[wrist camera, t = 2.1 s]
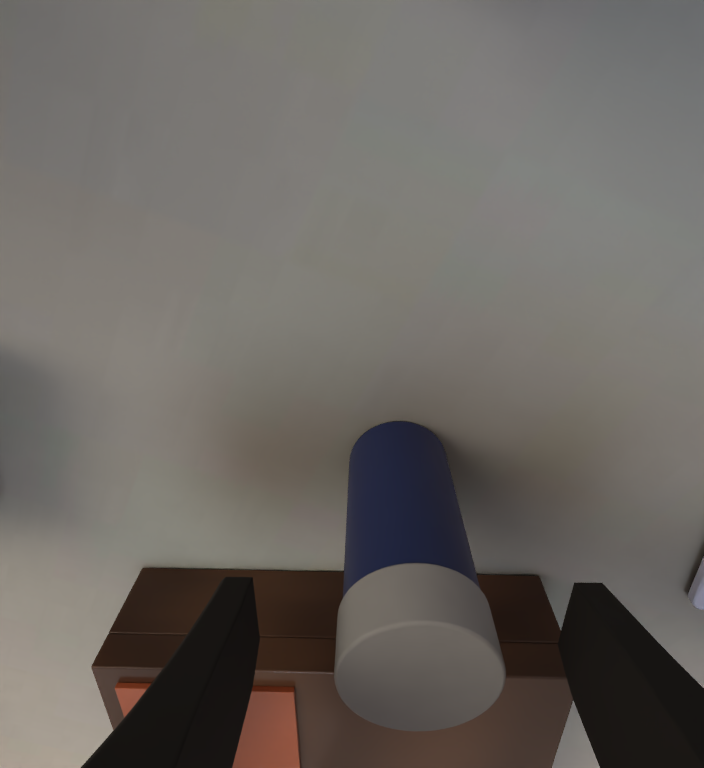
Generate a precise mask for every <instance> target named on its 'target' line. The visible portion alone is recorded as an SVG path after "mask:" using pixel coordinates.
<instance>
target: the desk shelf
mask: <svg viewBox="0 0 704 768" xmlns="http://www.w3.org/2000/svg"><path fill="white" fill-rule="evenodd" d="M225 577H253V584H254V592H255V601H256V609H257V617H258V626H259V634H260V642H259V649H258V656H257V662H256V669H255V675H254V682H253V688H252V692H251V696H250V700H249V704H248V708H247V712H246V716H245V720H244V724H243V728H242V732H241V735H240V739H239V743H238V747H237V751H236V755H235V759H234V763H233V767H232V768H552V765H553V761H554V758H555V755H556V752H557V749H558V746H559V742H560V739H561V736H562V733H563V730H564V727H565V723H566V720H567V717H568V714H569V711H570V708H571V705H572V701H573V697H572V695H571V691H570V688H569V684H568V681H567V677H566V674H565V671H564V667H563V663H562V659H561V655H560V652H559V648H558V641H559V637H560V633H561V630H560V627H559V625H558V622H557V620H556V617H555V615H554V612H553V610H552V607H551V605H550V602H549V600H548V597H547V595H546V592H545V590H544V587H543V585H542V582H541V580H540V577H539V576H523V575H477V578H478V582H479V586H480V590H481V591H482V592H483V594H484V595H485V597H486V599H487V601H488V603H489V607H490V610H491V614H492V618H493V621H494V625H495V629H496V633H497V637H498V640H499V644H500V648H501V652H502V655H503V659H504V663H505V668H506V678H505V684H504V687H503V690H502V692H501V694H500V696H499V697H498V699H497V700H496V701H495V703H494V704H493V705H492V706H491V707H490V708H489V709H487V710H486V711H485V712H483V713H482V714H481V715H479V716H477V717H476V718H474V719H472V720H470V721H467V722H465V723H463V724H460V725H457V726H454V727H450V728H446V729H440V730H433V731H403V730H397V729H391V728H387V727H383V726H380V725H377V724H374V723H372V722H370V721H368V720H366V719H364V718H362V717H360V716H359V715H357V714H356V713H355V712H353V711H352V710H351V709H350V708H349V707H348V706H347V705H346V704H345V703H344V702H343V700H342V699H341V697H340V695H339V694H338V691H337V688H336V685H335V681H334V666H335V649H336V632H337V616H338V609H339V606H340V603H341V601H342V599H343V584H344V572H319V571H268V570H218V569H167V568H142V570H141V572H140V574H139V576H138V578H137V580H136V581H135V583H134V585H133V587H132V589H131V591H130V593H129V595H128V597H127V599H126V601H125V603H124V605H123V606H122V608H121V610H120V612H119V614H118V616H117V618H116V620H115V622H114V624H113V626H112V628H111V630H110V631H109V634H108V636H107V638H106V639H105V641H104V643H103V645H102V647H101V649H100V651H99V653H98V655H97V657H96V659H95V661H94V663H93V664H92V671H93V673H94V676H95V679H96V682H97V685H98V688H99V690H100V693H101V696H102V699H103V702H104V705H105V707H106V710H107V713H108V716H109V719H110V722H111V724H112V727H113V730H114V729H115V728H116V727H117V726H118V725H119V724H120V722H121V721H122V720H123V719H124V718H125V716H126V715H127V714H128V713H129V711H130V710H131V709H132V708H133V707H134V705H135V704H136V703H137V701H138V700H139V699H140V698H141V696H142V695H143V694H144V692H145V691H146V690H147V689H148V687H149V686H150V685H151V683H152V682H153V681H154V680H155V678H156V677H157V676H158V674H159V673H160V672H161V670H162V669H163V668H164V666H165V665H166V664H167V662H168V661H169V659H170V658H171V657H172V655H173V654H174V652H175V651H176V649H177V648H178V647H179V645H180V644H181V642H182V641H183V640H184V638H185V637H186V635H187V634H188V632H189V631H190V629H191V628H192V626H193V625H194V623H195V622H196V620H197V619H198V617H199V616H200V614H201V613H202V611H203V610H204V608H205V607H206V605H207V603H208V602H209V600H210V599H211V597H212V595H213V594H214V592H215V590H216V589H217V587H218V585H219V584H220V582H221V580H222V579H224V578H225Z"/></svg>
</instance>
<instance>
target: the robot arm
mask: <svg viewBox="0 0 704 768" xmlns="http://www.w3.org/2000/svg"><path fill="white" fill-rule="evenodd" d="M688 598H689V600H690V601H691V603H692V604H693V606H694V607H696V608H697V609H702V610H704V557H703V559H702V562H701V564H700V566H699V569H698V571H697V574H696V576H695V578H694V581H693V583H692V586H691V588H690V590H689V593H688ZM259 642H260V634H259V626H258V617H257V609H256V601H255V592H254V584H253V577H225V578H224V579H222V580H221V582H220V584H219V585H218V587H217V589H216V590H215V592H214V594H213V595H212V597H211V599H210V600H209V602H208V603H207V605H206V607H205V608H204V610H203V611H202V613H201V614H200V616H199V617H198V619H197V620H196V622H195V623H194V625H193V626H192V628H191V629H190V631H189V632H188V634H187V635H186V637H185V638H184V640H183V641H182V642H181V644H180V645H179V647H178V648H177V649H176V651H175V652H174V654H173V655H172V657H171V658H170V659H169V661H168V662H167V664H166V665H165V666H164V668H163V669H162V670H161V672H160V673H159V674H158V676H157V677H156V678H155V680H154V681H153V682H152V683H151V685H150V686H149V687H148V689H147V690H146V691H145V692H144V694H143V695H142V696H141V698H140V699H139V700H138V701H137V703H136V704H135V705H134V707H133V708H132V709H131V710H130V711H129V713H128V714H127V715H126V716H125V718H124V719H123V720H122V721H121V722H120V724H119V725H118V726H117V727H116V728H115V729H114V731H113V732H112V733H111V734H110V735H109V737H108V738H107V739H106V740H105V741H104V742H103V743H102V745H101V746H100V747H99V748H98V749H97V750H96V751H95V752H94V754H93V755H92V756H91V757H90V758H89V759H88V760H87V761H86V763H85V764H84V765H83V766H82V767H81V768H232V767H233V763H234V759H235V755H236V751H237V747H238V743H239V739H240V735H241V732H242V728H243V724H244V720H245V716H246V712H247V708H248V704H249V700H250V696H251V692H252V688H253V682H254V675H255V669H256V662H257V656H258V649H259ZM558 648H559V652H560V655H561V659H562V663H563V667H564V671H565V674H566V677H567V681H568V684H569V688H570V691H571V695H572V697H573V700H574V702H575V705H576V708H577V710H578V713H579V715H580V718H581V720H582V723H583V726H584V728H585V731H586V733H587V736H588V738H589V741H590V743H591V746H592V748H593V751H594V753H595V756H596V758H597V761H598V763H599V766H600V768H704V688H703V687H702V686H701V685H699V684H698V683H697V681H696V680H695V679H694V678H693V677H692V676H691V675H690V674H689V673H688V672H687V671H686V670H685V669H684V668H683V667H682V666H681V665H680V664H679V663H678V662H677V661H676V660H675V659H674V658H673V657H672V656H671V655H670V654H669V653H668V652H667V651H666V650H665V649H664V648H663V647H662V646H661V645H660V644H659V643H658V642H657V641H656V640H655V639H654V638H653V637H652V635H651V634H650V633H649V632H648V631H647V630H646V629H645V628H644V627H643V626H642V625H641V624H640V623H639V622H638V621H637V620H636V619H635V617H634V616H633V615H632V614H631V613H630V612H629V611H628V610H627V609H626V608H625V607H624V606H623V605H622V604H621V603H620V601H619V600H618V599H617V598H616V597H615V596H614V595H613V594H612V593H611V592H610V591H609V590H608V589H607V588H606V587H605V586H604V585H603V583H574V586H573V589H572V593H571V597H570V600H569V604H568V608H567V611H566V615H565V619H564V622H563V626H562V630H561V633H560V637H559V641H558Z"/></svg>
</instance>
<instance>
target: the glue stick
mask: <svg viewBox="0 0 704 768" xmlns="http://www.w3.org/2000/svg"><path fill="white" fill-rule="evenodd" d="M505 678H506V668H505V663H504V659H503V655H502V652H501V648H500V644H499V640H498V637H497V633H496V629H495V625H494V621H493V618H492V614H491V610H490V607H489V603H488V601H487V599H486V597H485V595H484V594H483V592H482V591H481V590H480V586H479V582H478V578H477V574H476V570H475V566H474V562H473V559H472V555H471V551H470V547H469V543H468V539H467V535H466V531H465V527H464V523H463V519H462V515H461V512H460V508H459V504H458V500H457V496H456V492H455V488H454V484H453V480H452V476H451V472H450V469H449V465H448V461H447V457H446V453H445V450H444V447H443V445H442V443H441V442H440V440H439V439H438V438H437V437H436V436H435V435H434V434H433V433H432V432H431V431H429V430H428V429H426V428H424V427H422V426H420V425H418V424H414V423H410V422H403V421H394V422H387V423H383V424H380V425H378V426H375V427H373V428H371V429H370V430H368V431H367V432H365V433H364V434H363V435H362V436H361V437H360V438H359V439H358V440H357V442H356V443H355V445H354V447H353V449H352V451H351V455H350V462H349V482H348V503H347V523H346V543H345V563H344V584H343V599H342V601H341V603H340V606H339V609H338V616H337V632H336V649H335V666H334V681H335V685H336V688H337V691H338V694H339V695H340V697H341V699H342V700H343V702H344V703H345V704H346V705H347V706H348V707H349V708H350V709H351V710H352V711H353V712H355V713H356V714H357V715H359V716H360V717H362V718H364V719H366V720H368V721H370V722H372V723H374V724H377V725H380V726H383V727H387V728H391V729H397V730H403V731H433V730H440V729H446V728H450V727H454V726H457V725H460V724H463V723H465V722H467V721H470V720H472V719H474V718H476V717H477V716H479V715H481V714H482V713H483V712H485V711H486V710H487V709H489V708H490V707H491V706H492V705H493V704H494V703H495V701H496V700H497V699H498V697H499V696H500V694H501V692H502V690H503V687H504V684H505Z"/></svg>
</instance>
